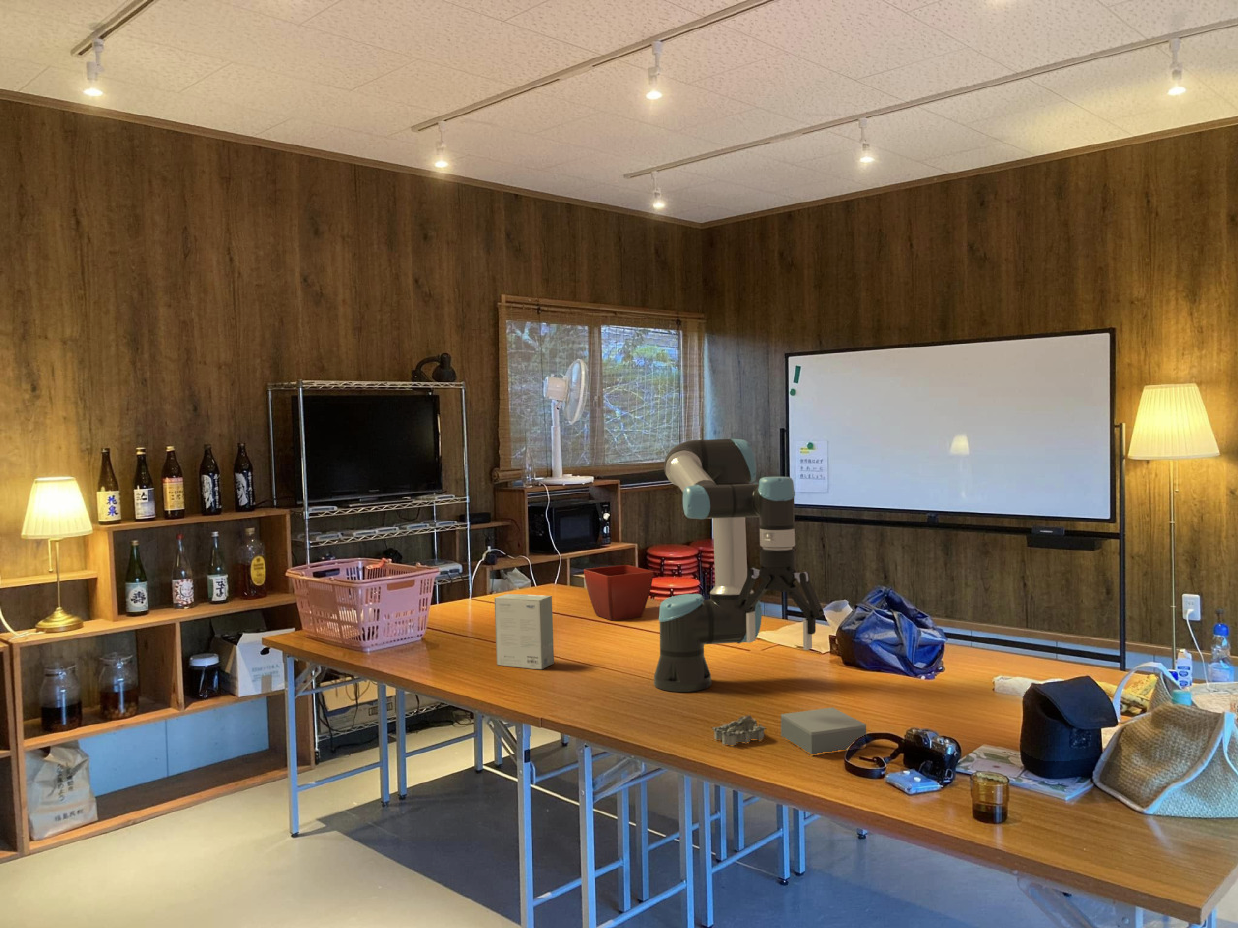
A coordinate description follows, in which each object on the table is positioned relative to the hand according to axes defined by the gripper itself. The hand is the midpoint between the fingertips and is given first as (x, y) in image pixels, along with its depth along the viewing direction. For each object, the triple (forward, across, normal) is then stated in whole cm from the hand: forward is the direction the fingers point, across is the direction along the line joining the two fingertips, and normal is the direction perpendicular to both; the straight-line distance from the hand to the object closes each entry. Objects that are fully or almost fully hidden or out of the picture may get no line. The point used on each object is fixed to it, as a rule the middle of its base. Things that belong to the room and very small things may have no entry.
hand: (778, 645), depth 203 cm
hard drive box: (+20, -90, +17) cm, 94 cm away
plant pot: (+20, -107, +87) cm, 139 cm away
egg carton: (+21, -7, -6) cm, 23 cm away
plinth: (+20, +9, +2) cm, 22 cm away
